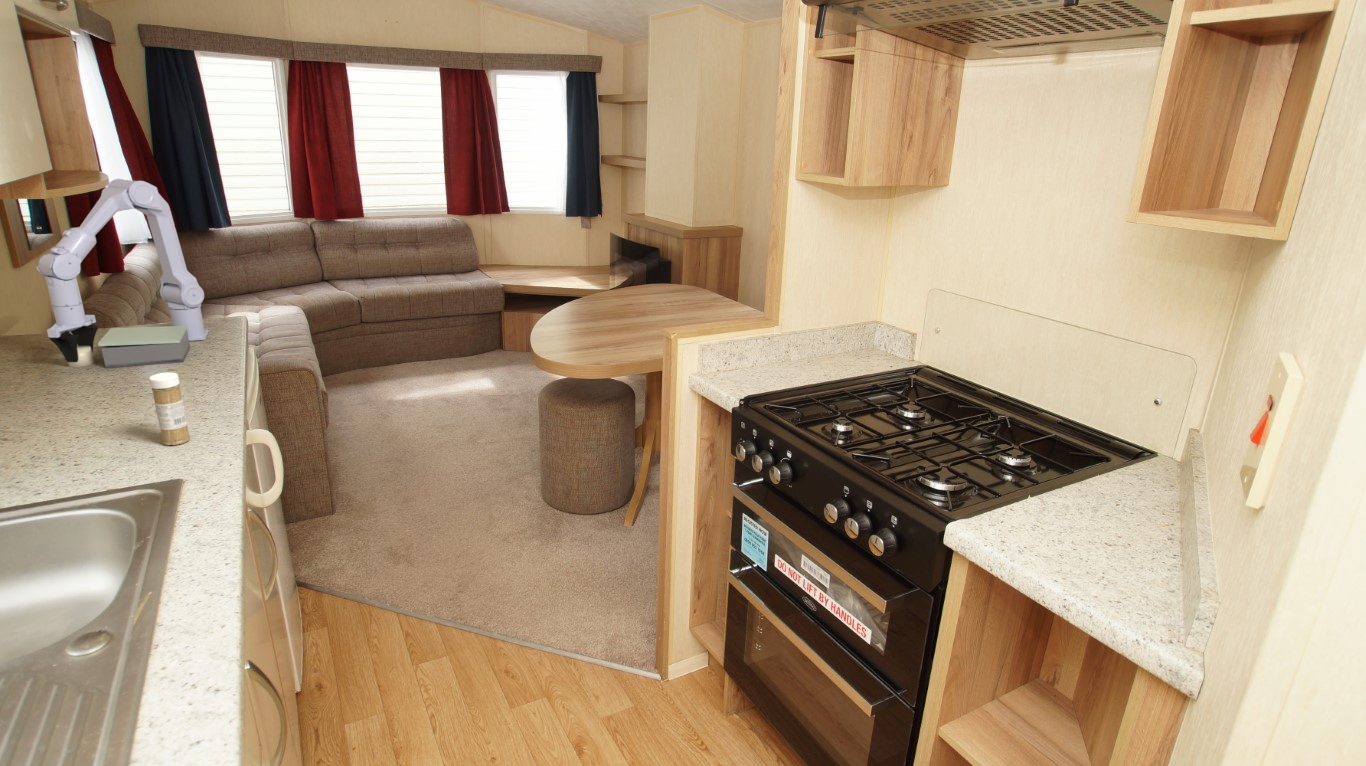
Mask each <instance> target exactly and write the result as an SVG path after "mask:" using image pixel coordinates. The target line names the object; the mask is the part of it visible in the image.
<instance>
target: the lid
mask: <svg viewBox="0 0 1366 766" xmlns="http://www.w3.org/2000/svg"><path fill="white" fill-rule="evenodd" d="M186 330H187V326H172V325H170V326H169V325H167V326H166V325H165V326H139V327H137V326H136V327H135V326H133V327H110V329H108V331H107V332H106V333H105V334H104V335H103V337H102V338H101V339H99V342H97V345H98V347H103V346H116V345H140V344H165V343H180V341H181V340H182V338H183V336H184V334H185V332H186Z"/></svg>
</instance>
